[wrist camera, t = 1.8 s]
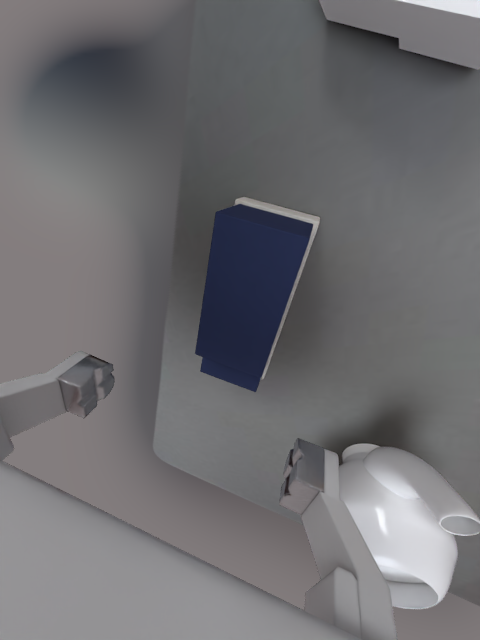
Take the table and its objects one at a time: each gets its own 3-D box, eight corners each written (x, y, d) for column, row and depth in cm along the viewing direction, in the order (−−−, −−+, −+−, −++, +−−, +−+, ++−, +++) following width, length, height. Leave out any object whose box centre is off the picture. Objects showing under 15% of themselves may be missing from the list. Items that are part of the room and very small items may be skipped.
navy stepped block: (243, 196, 17) (210, 205, 12) (320, 217, 16) (318, 235, 12) (213, 347, 24) (185, 391, 19) (267, 366, 23) (251, 417, 18)
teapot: (297, 494, 31) (288, 600, 24) (351, 369, 21) (365, 484, 13) (381, 524, 29) (401, 649, 22) (485, 403, 19) (594, 560, 11)
